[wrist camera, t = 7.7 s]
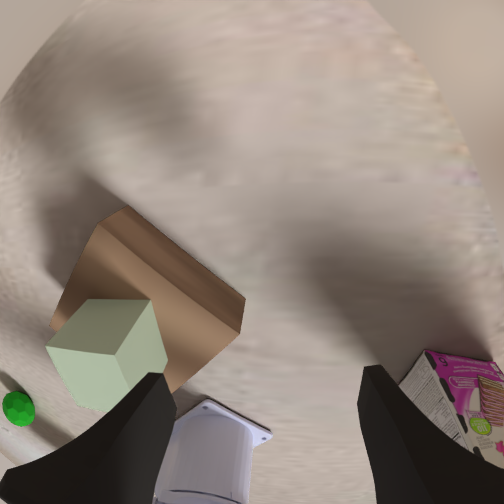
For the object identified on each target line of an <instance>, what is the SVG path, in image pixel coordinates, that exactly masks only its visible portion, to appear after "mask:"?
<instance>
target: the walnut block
mask: <svg viewBox="0 0 504 504" xmlns="http://www.w3.org/2000/svg"><path fill="white" fill-rule="evenodd" d="M87 299H119V300H151V302H152V306H153V310H154V313H155V317H156V321H157V324H158V328H159V332H160V335H161V338H162V342H163V345H164V349H165V352H166V355H167V358H168V361H167V364H166V366H165V369H164V371H163V374H164V376H165V379H166V382H167V384H168V387H169V390H170V392H171V394H172V393H173V392H174V391H176V390H177V389H178V388H179V387H180V386H181V385H183V384H184V383H185V382H186V381H187V380H188V379H190V378H191V377H192V376H193V375H194V374H195V373H197V372H198V371H199V370H200V369H201V368H202V367H204V366H205V365H206V364H207V363H208V362H209V361H210V360H211V359H213V358H214V357H215V356H216V355H217V354H218V353H219V352H221V351H222V350H223V349H224V348H225V347H226V346H227V345H228V344H229V343H231V342H232V341H233V340H234V339H235V338H236V337H237V336H238V335H239V334H240V330H241V324H242V318H243V312H244V306H245V300H246V299H245V298H244V297H243V296H241V295H240V294H239V293H237V292H236V291H235V290H233V289H232V288H231V287H229V286H228V285H227V284H226V283H224V282H223V281H222V280H220V279H219V278H218V277H217V276H215V275H214V274H213V273H211V272H210V271H209V270H208V269H206V268H205V267H204V266H203V265H201V264H200V263H199V262H197V261H196V260H195V259H194V258H192V257H191V256H190V255H189V254H187V253H186V252H185V251H184V250H182V249H181V248H180V247H179V246H177V245H176V244H175V243H174V242H172V241H171V240H170V239H169V238H167V237H166V236H165V235H164V234H163V233H161V232H160V231H159V230H158V229H156V228H155V227H154V226H153V225H152V224H150V223H149V222H148V221H147V220H146V219H144V218H143V217H142V216H141V215H139V214H138V213H137V212H136V211H135V210H133V209H132V208H131V207H130V206H129V205H128V206H126V207H124V208H123V209H121V210H119V211H117V212H116V213H114V214H112V215H111V216H109V217H107V218H105V219H104V220H102V221H100V222H99V223H98V224H97V226H96V228H95V229H94V231H93V233H92V235H91V237H90V239H89V240H88V242H87V244H86V246H85V248H84V250H83V252H82V254H81V256H80V258H79V260H78V262H77V264H76V266H75V268H74V270H73V272H72V274H71V276H70V279H69V281H68V283H67V285H66V287H65V290H64V292H63V294H62V296H61V299H60V301H59V303H58V305H57V308H56V310H55V313H54V315H53V317H52V320H51V322H50V325H49V326H50V327H51V328H52V329H53V330H55V331H56V332H58V331H59V329H60V328H61V327H62V326H63V325H64V324H65V323H66V322H67V321H68V320H69V319H70V317H71V316H72V315H73V314H74V313H75V312H76V311H77V310H78V309H79V308H80V307H81V306H82V305H83V304H84V303H85V302H86V301H87Z"/></svg>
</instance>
